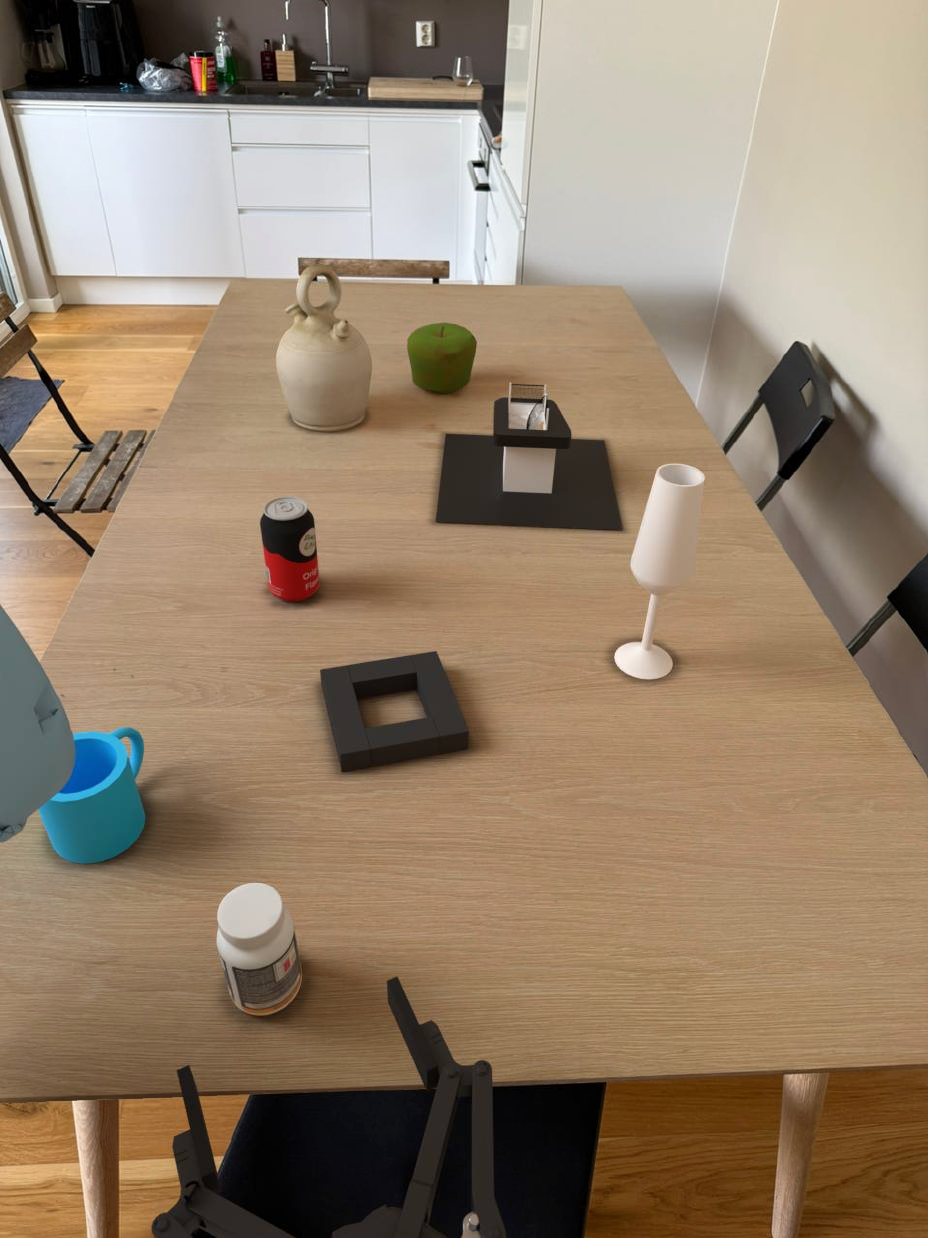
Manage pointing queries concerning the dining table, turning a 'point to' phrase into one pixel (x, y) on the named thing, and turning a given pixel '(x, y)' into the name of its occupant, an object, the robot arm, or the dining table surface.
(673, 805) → the dining table surface
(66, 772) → the robot arm
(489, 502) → the black-topped pedestal
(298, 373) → the jug
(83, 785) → the mug
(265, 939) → the pill bottle
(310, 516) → the beverage can
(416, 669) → the dock pad
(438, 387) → the apple
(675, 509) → the champagne flute
